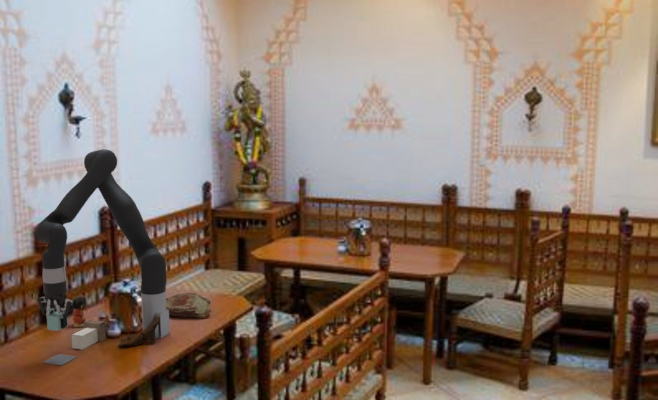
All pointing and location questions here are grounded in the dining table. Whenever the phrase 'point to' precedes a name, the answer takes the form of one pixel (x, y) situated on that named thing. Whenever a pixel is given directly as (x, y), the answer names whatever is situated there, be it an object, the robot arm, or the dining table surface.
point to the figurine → (78, 311)
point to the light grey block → (89, 334)
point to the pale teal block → (54, 321)
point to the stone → (188, 305)
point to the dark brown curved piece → (141, 335)
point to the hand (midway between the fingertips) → (57, 326)
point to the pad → (60, 359)
